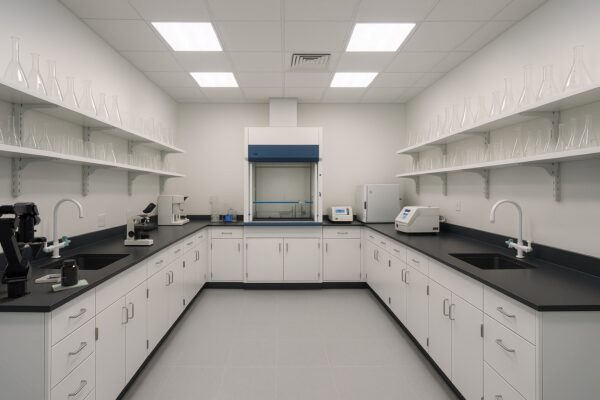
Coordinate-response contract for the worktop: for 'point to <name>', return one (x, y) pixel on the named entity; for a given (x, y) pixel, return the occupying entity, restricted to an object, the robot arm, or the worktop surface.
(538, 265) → the worktop surface
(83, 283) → the mat
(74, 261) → the supplement bottle
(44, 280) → the white square frame
